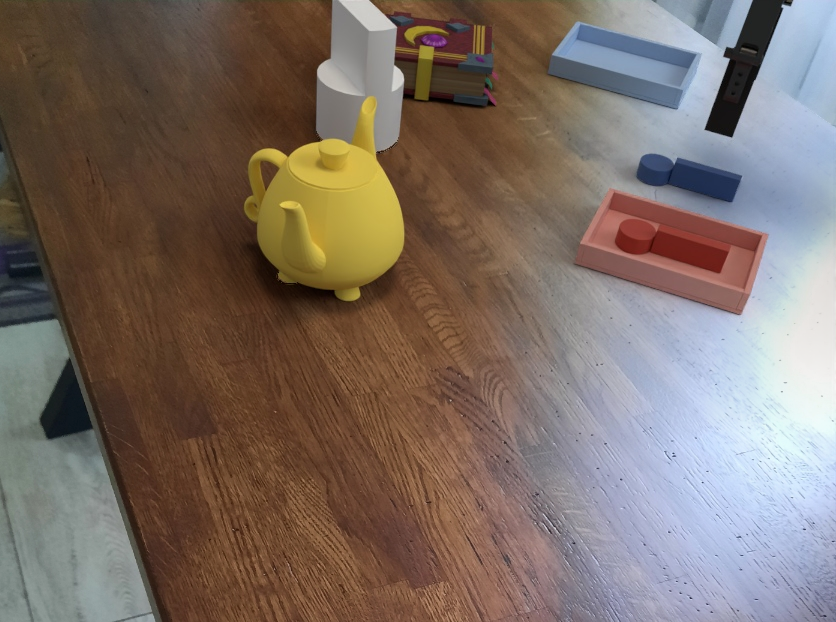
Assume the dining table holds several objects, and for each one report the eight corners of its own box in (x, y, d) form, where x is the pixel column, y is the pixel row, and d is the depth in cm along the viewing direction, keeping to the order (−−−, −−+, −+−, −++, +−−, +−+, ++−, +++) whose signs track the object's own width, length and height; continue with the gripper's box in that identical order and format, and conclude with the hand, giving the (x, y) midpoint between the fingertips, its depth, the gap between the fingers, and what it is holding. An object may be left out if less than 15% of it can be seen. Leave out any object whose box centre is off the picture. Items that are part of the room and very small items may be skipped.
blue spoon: (736, 191, 99) (744, 170, 97) (730, 207, 97) (738, 186, 95) (640, 164, 101) (647, 142, 99) (632, 179, 99) (639, 157, 97)
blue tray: (696, 72, 116) (702, 53, 114) (677, 109, 109) (683, 90, 108) (572, 39, 119) (577, 20, 117) (547, 73, 112) (551, 54, 111)
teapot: (288, 192, 92) (287, 71, 83) (430, 231, 90) (445, 110, 81) (197, 304, 80) (185, 177, 71) (357, 351, 78) (366, 226, 69)
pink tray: (759, 253, 92) (769, 233, 90) (740, 315, 86) (750, 294, 84) (603, 207, 95) (609, 187, 93) (574, 263, 89) (579, 242, 87)
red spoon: (724, 261, 90) (733, 238, 88) (717, 280, 88) (727, 257, 86) (619, 229, 92) (626, 207, 90) (610, 247, 90) (617, 225, 88)
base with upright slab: (413, 147, 99) (425, 24, 90) (336, 160, 96) (341, 35, 87) (376, 107, 104) (385, -13, 94) (302, 119, 101) (303, -4, 91)
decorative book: (364, 49, 112) (367, 4, 108) (496, 65, 113) (504, 20, 109) (355, 93, 105) (358, 46, 101) (496, 110, 106) (504, 64, 102)
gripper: (806, -211, 82) (717, 45, 99) (762, -138, 68) (667, 147, 85) (891, -193, 81) (786, 63, 98) (865, -114, 67) (747, 170, 84)
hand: (731, 103), depth 91 cm, fingers open, 13 cm apart
